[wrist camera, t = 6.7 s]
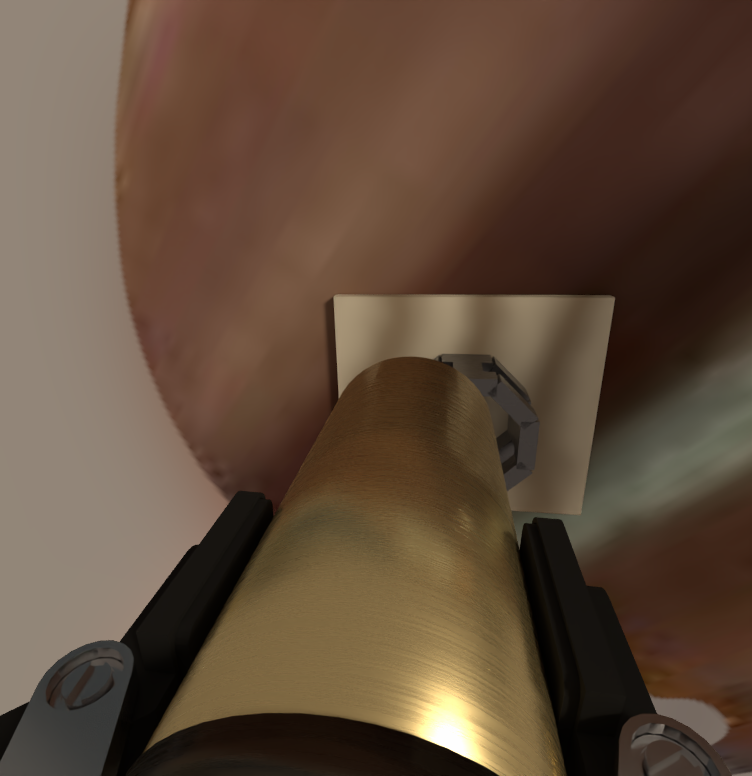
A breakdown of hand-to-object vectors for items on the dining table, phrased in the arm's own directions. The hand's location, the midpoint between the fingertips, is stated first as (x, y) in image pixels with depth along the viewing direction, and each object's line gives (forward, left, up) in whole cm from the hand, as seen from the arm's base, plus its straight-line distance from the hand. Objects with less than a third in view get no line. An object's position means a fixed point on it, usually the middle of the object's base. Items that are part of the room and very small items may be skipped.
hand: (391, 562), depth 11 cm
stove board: (-3, +8, -27) cm, 29 cm away
